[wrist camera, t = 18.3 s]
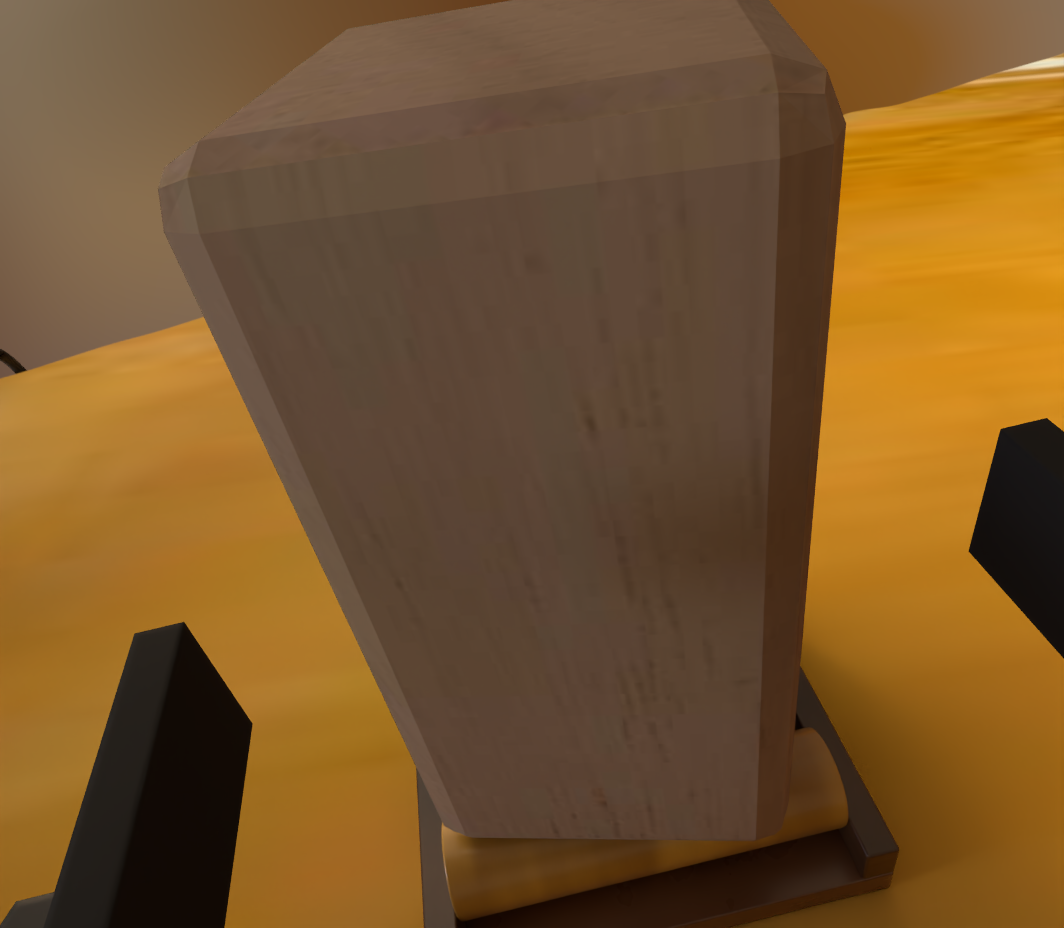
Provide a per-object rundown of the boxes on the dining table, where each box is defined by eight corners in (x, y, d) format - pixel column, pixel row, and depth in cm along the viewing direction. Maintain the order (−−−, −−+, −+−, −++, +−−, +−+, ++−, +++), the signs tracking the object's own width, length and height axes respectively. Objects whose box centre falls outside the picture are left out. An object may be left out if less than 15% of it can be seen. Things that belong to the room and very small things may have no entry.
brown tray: (424, 677, 33) (399, 615, 31) (743, 601, 33) (744, 534, 31) (445, 998, 24) (411, 947, 21) (890, 887, 24) (908, 824, 22)
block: (747, 583, 29) (756, -50, 17) (793, 857, 21) (873, 58, 9) (485, 594, 31) (319, 27, 18) (440, 851, 23) (102, 173, 11)
